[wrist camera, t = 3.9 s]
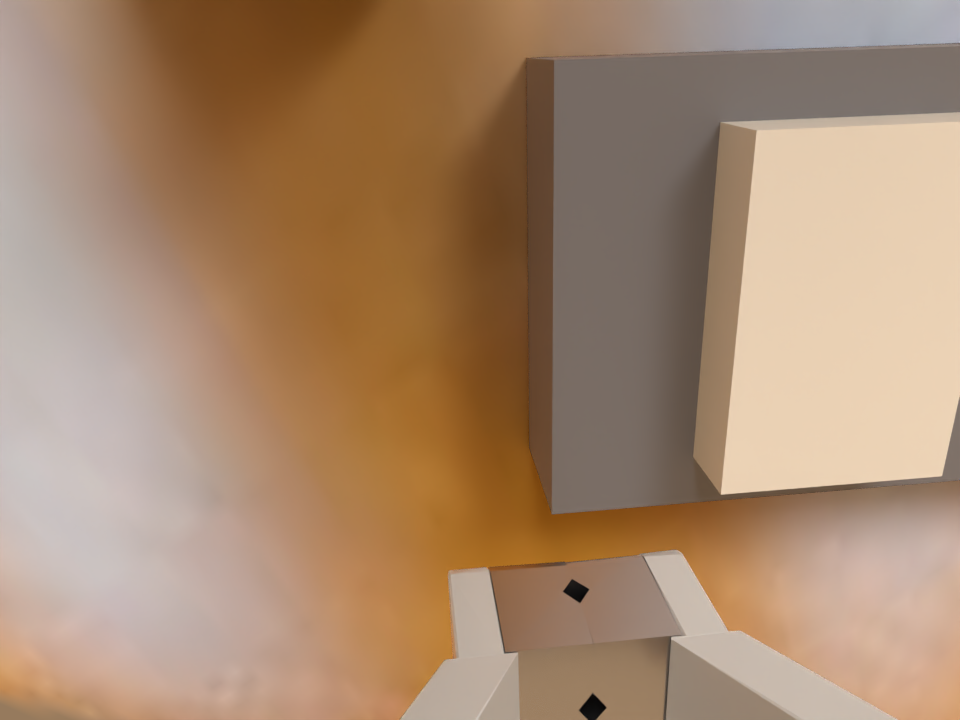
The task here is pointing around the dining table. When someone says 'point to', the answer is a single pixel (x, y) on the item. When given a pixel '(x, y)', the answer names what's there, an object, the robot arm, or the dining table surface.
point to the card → (831, 302)
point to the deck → (661, 246)
